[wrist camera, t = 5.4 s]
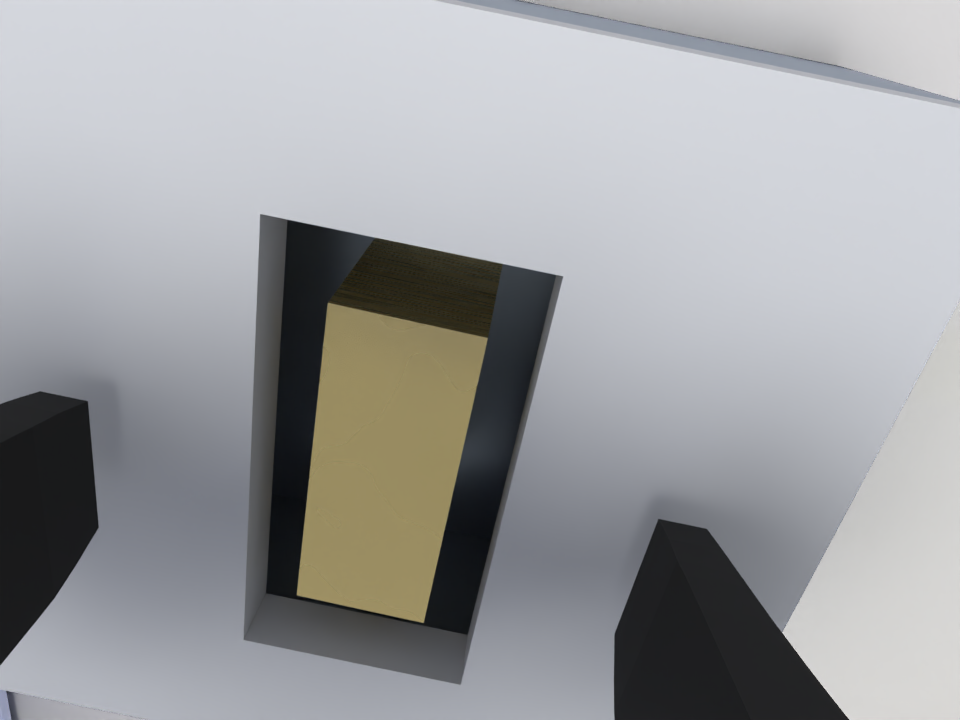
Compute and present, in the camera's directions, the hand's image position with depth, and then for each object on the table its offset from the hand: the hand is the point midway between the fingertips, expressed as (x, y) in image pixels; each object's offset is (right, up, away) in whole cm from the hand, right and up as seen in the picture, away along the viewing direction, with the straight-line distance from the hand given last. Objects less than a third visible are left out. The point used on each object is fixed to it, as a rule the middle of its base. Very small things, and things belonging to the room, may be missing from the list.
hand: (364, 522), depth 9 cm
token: (+1, +3, +5) cm, 6 cm away
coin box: (+1, +3, +6) cm, 7 cm away
